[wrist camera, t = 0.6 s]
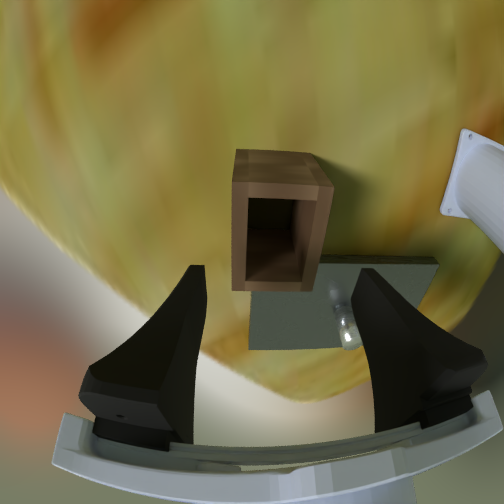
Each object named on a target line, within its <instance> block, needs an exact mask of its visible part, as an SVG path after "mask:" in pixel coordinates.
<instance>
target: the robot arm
mask: <svg viewBox="0 0 504 504" xmlns="http://www.w3.org/2000/svg"><path fill="white" fill-rule="evenodd" d="M469 135H470V137H469ZM448 209H449V210H448ZM440 212H441V213H442V214H443V215H448V216H455V217H462V218H469V219H471V220H472V221H473V222H474V223H475V224H476V225H477V226H478V227H479V228H480V229H481V230H482V231H483V232H484V233H485V234H486V235H487V236H488V237H489V238H490V239H491V240H492V241H493V243H494V244H495V245H496V246H497V247H498V248H499V249H500V250H501V251H502V252H503V254H504V146H503V145H501V144H499V143H497V142H494V141H492V140H490V139H488V138H486V137H484V136H481V135H479V134H477V133H475V132H472V131H470V130H467V129H462V131H461V133H460V138H459V143H458V147H457V151H456V155H455V159H454V163H453V167H452V171H451V174H450V178H449V181H448V185H447V188H446V191H445V195H444V198H443V201H442V204H441V207H440ZM350 300H351V305H352V310H353V315H354V319H355V322H356V325H357V328H358V331H359V334H360V337H361V340H362V343H363V346H364V349H365V352H366V356H367V360H368V364H369V369H370V375H371V381H372V388H373V398H374V411H375V433H374V434H369V435H365V436H360V437H354V438H349V439H343V440H337V441H330V442H322V443H313V444H304V445H292V446H275V447H222V446H205V445H193V422H194V395H195V378H196V367H197V360H198V354H199V349H200V344H201V339H202V334H203V329H204V324H205V319H206V308H207V290H206V278H205V266H204V265H190V266H189V267H188V269H187V270H186V272H185V274H184V275H183V277H182V278H181V280H180V281H179V283H178V284H177V286H176V287H175V288H174V290H173V291H172V292H171V294H170V295H169V297H168V298H167V299H166V300H165V302H164V303H163V304H162V305H161V306H160V308H159V309H158V310H157V311H156V312H155V314H154V315H153V316H152V317H151V318H150V319H149V320H148V321H147V322H146V323H145V324H144V325H143V326H142V327H141V328H140V329H139V330H138V331H137V332H136V333H135V334H134V335H133V336H131V337H130V338H129V339H128V340H127V341H125V342H124V343H123V344H122V345H120V346H119V347H118V348H116V349H115V350H114V351H112V352H111V353H110V354H108V355H107V356H105V357H103V358H102V359H100V360H98V361H97V362H95V363H94V364H92V365H90V366H89V368H88V370H87V372H86V374H85V376H84V379H83V382H82V385H81V389H80V392H79V395H78V396H79V399H80V401H81V402H82V403H83V404H84V405H85V406H86V407H87V408H88V409H89V410H90V411H91V412H92V413H93V414H94V415H95V416H96V418H95V422H92V421H90V420H88V419H85V418H82V417H78V416H75V415H72V414H69V413H64V415H63V418H62V422H61V426H60V429H59V433H58V437H57V441H56V446H55V450H54V454H53V459H52V464H53V465H55V466H57V467H59V468H61V469H63V470H66V471H69V472H71V473H73V474H75V475H78V476H80V477H83V478H86V479H88V480H92V481H94V482H97V483H100V484H104V485H107V486H110V487H113V488H117V489H120V490H124V491H128V492H132V493H136V494H140V495H145V496H150V497H154V498H160V499H165V500H171V501H178V502H186V503H194V504H417V501H416V495H415V489H414V483H413V478H412V476H415V475H417V474H420V473H422V472H425V471H427V470H430V469H432V468H434V467H437V466H439V465H441V464H443V463H445V462H447V461H449V460H451V459H453V458H456V457H458V456H459V455H461V454H463V453H465V452H467V451H469V450H471V449H473V448H474V447H476V446H478V445H480V444H481V443H483V442H485V441H486V440H488V439H489V438H491V437H492V436H494V435H495V434H497V433H499V432H500V431H502V430H503V426H502V423H501V420H500V417H499V414H498V411H497V409H496V406H495V404H494V401H493V398H492V396H491V393H490V391H489V390H488V391H485V392H483V393H481V394H479V395H476V396H475V397H473V398H472V399H471V398H470V395H469V394H470V393H472V389H471V387H470V386H471V385H472V384H473V383H474V382H475V381H476V380H477V379H478V378H479V377H480V376H481V375H482V374H483V373H484V372H485V370H486V369H487V366H488V363H487V361H486V358H485V356H484V354H483V352H482V350H481V349H478V348H476V347H474V346H472V345H469V344H467V343H465V342H463V341H462V340H460V339H458V338H456V337H454V336H453V335H451V334H449V333H448V332H446V331H445V330H443V329H442V328H440V327H439V326H437V325H436V324H435V323H433V322H432V321H431V320H429V319H428V318H427V317H425V316H424V315H423V314H422V313H420V312H419V311H418V310H417V309H416V308H415V307H414V306H412V305H411V304H410V303H409V302H408V301H407V300H406V299H405V298H404V297H403V296H402V295H401V294H400V293H399V292H398V291H396V290H395V289H394V288H393V287H392V286H391V285H390V284H389V283H388V282H387V281H386V280H385V279H384V278H383V277H382V276H381V275H380V274H379V273H378V272H377V271H376V270H375V269H373V268H361V271H360V274H359V277H358V279H357V282H356V285H355V288H354V291H353V293H352V296H351V299H350ZM378 449H379V450H378ZM374 450H377V451H375V452H371V453H367V454H362V455H357V456H353V457H347V458H342V459H336V460H329V461H324V462H318V463H313V464H308V465H304V466H297V467H288V468H279V469H268V470H255V471H241V468H240V467H239V466H233V465H279V464H293V463H304V462H313V461H321V460H328V459H334V458H340V457H346V456H351V455H356V454H361V453H366V452H370V451H374Z"/></svg>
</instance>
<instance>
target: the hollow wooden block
mask: <svg viewBox="0 0 504 504" xmlns="http://www.w3.org/2000/svg"><path fill="white" fill-rule="evenodd" d="M334 188H335V187H334V186H333V184H332V183H331V181H330V180H329V178H328V177H327V176H326V174H325V173H324V171H323V170H322V169H321V167H320V166H319V164H318V163H317V162H316V160H315V159H314V158H313V156H312V155H311V154H310V153H302V152H289V151H273V150H249V149H236V155H235V163H234V170H233V178H232V291H275V292H312V290H313V286H314V282H315V278H316V274H317V270H318V265H319V261H320V257H321V252H322V248H323V243H324V238H325V234H326V229H327V224H328V219H329V214H330V209H331V204H332V199H333V193H334ZM248 197H249V198H277V199H293V207H292V215H291V223H290V230H283V229H250V228H247V219H248Z"/></svg>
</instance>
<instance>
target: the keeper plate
mask: <svg viewBox="0 0 504 504" xmlns="http://www.w3.org/2000/svg"><path fill="white" fill-rule="evenodd" d="M439 265H440V264H439V263H438V262H437V260H436V259H435V258H434V257H405V256H361V255H321V257H320V261H319V265H318V270H317V274H316V278H315V282H314V286H313V290H312V292H275V291H251V305H250V323H249V350H293V349H318V348H335V347H343V348H344V349H345V350H354V349H356V348H358V347H360V346H361V345H363V343H362V340H361V337H360V334H359V331H358V328H357V325H356V322H355V319H354V315H353V310H352V305H351V300H350V299H351V296H352V293H353V291H354V288H355V285H356V282H357V279H358V277H359V274H360V271H361V268H373V269H375V270H376V271H377V272H378V273H379V274H380V275H381V276H382V277H383V278H384V279H385V280H386V281H387V282H388V283H389V284H390V285H391V286H392V287H393V288H394V289H395V290H396V291H398V292H399V293H400V294H401V295H402V296H403V297H404V298H405V299H406V300H407V301H408V302H409V303H410V304H411V305H412V306H414V307H415V308H416V309H417V307H418V305H419V304H420V302H421V300H422V298H423V296H424V295H425V293H426V291H427V289H428V287H429V285H430V283H431V281H432V279H433V277H434V275H435V273H436V271H437V269H438V267H439Z"/></svg>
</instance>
